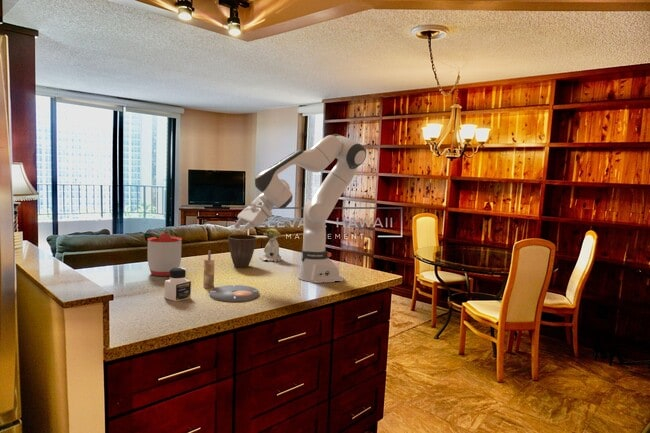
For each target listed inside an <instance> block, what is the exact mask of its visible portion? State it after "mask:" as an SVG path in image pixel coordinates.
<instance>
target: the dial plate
mask: <svg viewBox="0 0 650 433" xmlns="http://www.w3.org/2000/svg"><path fill="white" fill-rule="evenodd" d="M259 295H260V291H259V289H258V288H257V287H256V288H255V287H253V286H249V285H244V284H243V285H241V284H231V285H229V284H227V285H220V286H216V287H213V288H211V289H210V291H209V297H210V298H211V299H213V300H216V301H219V302H228V303H237V302H238V303H240V302H241V303H242V302H247V301H248V302H249V301H251V300H255V299H257V298H258V297H259Z"/></svg>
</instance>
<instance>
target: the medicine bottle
mask: <svg viewBox="0 0 650 433" xmlns="http://www.w3.org/2000/svg"><path fill="white" fill-rule="evenodd" d="M191 287H192V281H191V280H190V279H187V269H186V268H184V267H180V266H179V267H176V268H172V269H171V270H170V275H169V279H166V280H164V295H163V296H164V297H163V298H164V299H167V300H169V301H172V302H175V303H177V302H180V301H183V300H187V299H190V298H191V297H192V296H191V295H192V294H191V291H192V288H191Z"/></svg>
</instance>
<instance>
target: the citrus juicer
mask: <svg viewBox="0 0 650 433" xmlns="http://www.w3.org/2000/svg"><path fill="white" fill-rule="evenodd" d="M146 240H147V265H148V269H149V271H150V273H151V275H153V276H156V277H162V276H163V277H164V276H165V277H167V276H170V270H171V269H172V268H176V267H180V265H181V262H182V243H183V242H182V241H183V238H182V237H178V236H170V235H169V234H168V233H167V232H163V233H162V234H160V236H159V237H158V238H157V237H156V236H152V237H151V236H150V237H148V238H147V239H146Z"/></svg>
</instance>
